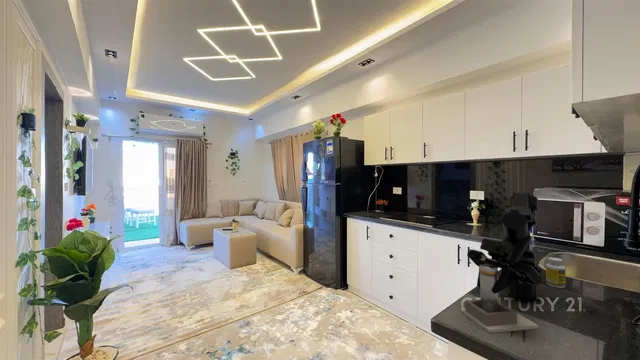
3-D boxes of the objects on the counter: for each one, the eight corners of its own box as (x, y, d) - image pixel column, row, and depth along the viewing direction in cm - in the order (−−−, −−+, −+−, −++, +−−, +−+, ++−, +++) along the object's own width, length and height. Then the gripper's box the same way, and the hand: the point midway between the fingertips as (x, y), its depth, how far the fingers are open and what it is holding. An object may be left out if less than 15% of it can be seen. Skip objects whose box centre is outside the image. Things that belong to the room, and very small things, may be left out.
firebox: (502, 307, 82) (502, 295, 82) (538, 328, 70) (537, 313, 70) (460, 311, 81) (459, 298, 81) (489, 333, 69) (489, 318, 69)
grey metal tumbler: (491, 307, 78) (489, 263, 78) (503, 315, 73) (502, 268, 73) (476, 308, 77) (475, 264, 78) (488, 316, 73) (486, 269, 73)
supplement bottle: (561, 289, 94) (560, 261, 94) (543, 284, 99) (542, 258, 99) (569, 286, 96) (568, 259, 97) (551, 281, 101) (550, 256, 101)
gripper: (470, 224, 86) (443, 262, 82) (531, 234, 68) (501, 283, 64) (489, 246, 88) (464, 284, 85) (554, 261, 70) (525, 310, 67)
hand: (485, 289), depth 75 cm, fingers closed on grey metal tumbler, 4 cm apart
